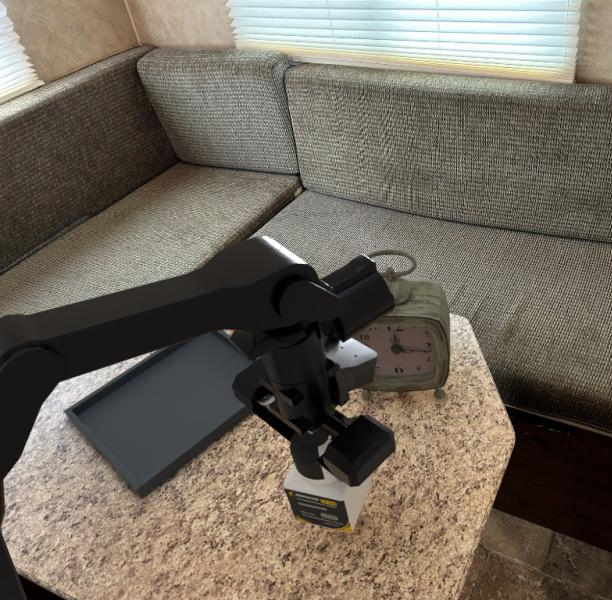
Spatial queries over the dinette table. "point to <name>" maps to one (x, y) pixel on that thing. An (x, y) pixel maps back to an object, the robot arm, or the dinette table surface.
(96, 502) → the dinette table surface
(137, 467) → the tray
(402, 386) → the tabletop clock
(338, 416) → the robot arm
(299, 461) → the medicine bottle
